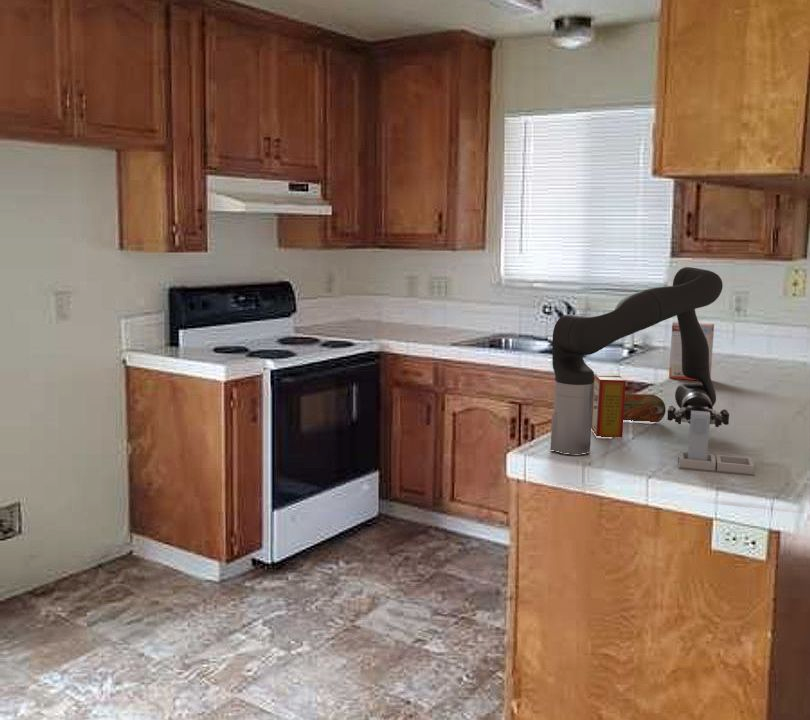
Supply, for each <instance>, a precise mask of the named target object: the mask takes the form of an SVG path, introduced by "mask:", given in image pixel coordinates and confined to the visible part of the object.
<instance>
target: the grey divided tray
mask: <svg viewBox="0 0 810 720" xmlns="http://www.w3.org/2000/svg"><path fill="white" fill-rule="evenodd" d="M677 457H678V458H677V461H678V462H677V463H678V465H677V467H678V470H682V471H683V470H685V471H695V472H703V473H704V472H706V473H712V474H713V473H714V474H715V473H716V474H724V475H725V474H726V475H737V476H743V477H744V476H745V477H756V475H755V472H754V471H755V463H754V461H753V459H752V457H745V456H737V455H735V456H734V455H724V454H712V453H707V461H702V460H691V459H688V451H679V456H677Z"/></svg>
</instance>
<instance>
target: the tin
mask: <svg viewBox="0 0 810 720" xmlns="http://www.w3.org/2000/svg"><path fill="white" fill-rule="evenodd" d="M666 410H667V409H666V404H665V402H664V400H662V398H661V397H659V396H657V395H655V394H650V393H649V394H647V393H626V392H625V401H624V417H623V420H631V421H632V420H633V421H650V422H658V423H659V422H661V420H663V419H664V417H665V414H666Z"/></svg>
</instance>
